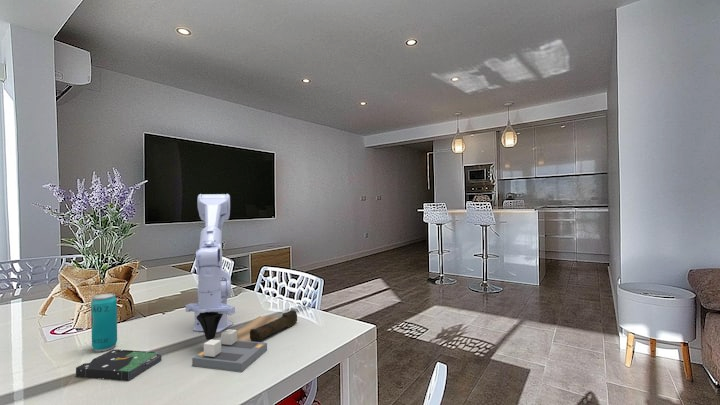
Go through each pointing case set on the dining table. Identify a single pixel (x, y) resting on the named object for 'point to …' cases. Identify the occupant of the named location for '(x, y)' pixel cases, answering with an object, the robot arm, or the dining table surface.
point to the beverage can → (104, 322)
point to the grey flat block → (232, 356)
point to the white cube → (212, 348)
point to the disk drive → (119, 365)
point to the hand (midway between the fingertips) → (210, 338)
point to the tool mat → (253, 327)
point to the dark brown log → (274, 326)
